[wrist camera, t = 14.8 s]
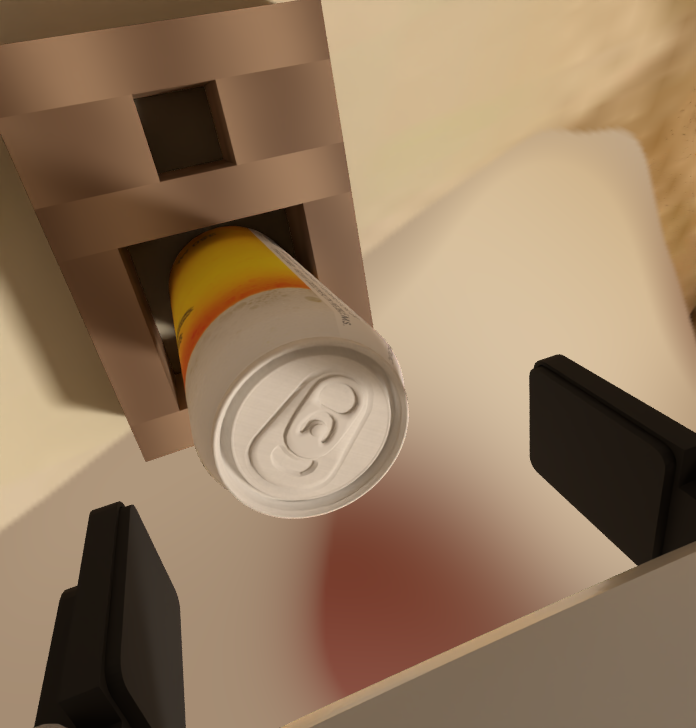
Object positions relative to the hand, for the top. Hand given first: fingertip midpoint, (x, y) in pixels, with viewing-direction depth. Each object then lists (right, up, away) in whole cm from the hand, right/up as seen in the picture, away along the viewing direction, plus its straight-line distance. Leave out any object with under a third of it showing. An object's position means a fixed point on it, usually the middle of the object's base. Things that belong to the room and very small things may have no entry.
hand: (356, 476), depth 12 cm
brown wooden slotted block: (-7, +9, +13) cm, 17 cm away
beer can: (-6, +7, +15) cm, 17 cm away
